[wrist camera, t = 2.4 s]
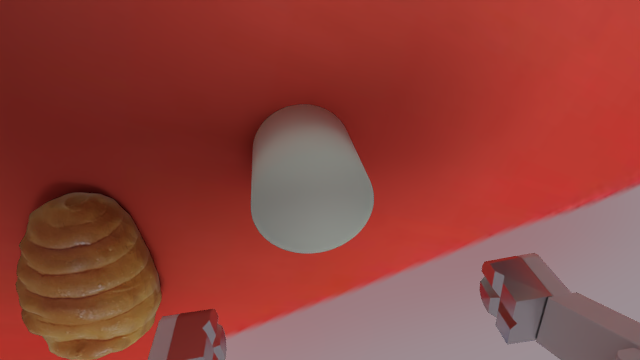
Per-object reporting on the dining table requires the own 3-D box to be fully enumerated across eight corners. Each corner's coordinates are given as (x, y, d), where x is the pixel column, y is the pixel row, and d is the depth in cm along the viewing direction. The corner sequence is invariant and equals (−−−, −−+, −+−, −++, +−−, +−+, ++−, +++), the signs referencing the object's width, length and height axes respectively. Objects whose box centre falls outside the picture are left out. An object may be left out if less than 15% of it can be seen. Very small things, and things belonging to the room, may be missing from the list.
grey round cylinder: (263, 198, 21) (264, 262, 17) (242, 113, 18) (237, 164, 14) (353, 182, 21) (376, 241, 17) (345, 96, 19) (370, 141, 14)
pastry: (6, 182, 19) (-45, 231, 16) (153, 185, 20) (134, 231, 17) (52, 313, 24) (20, 371, 20) (168, 309, 25) (156, 363, 22)
